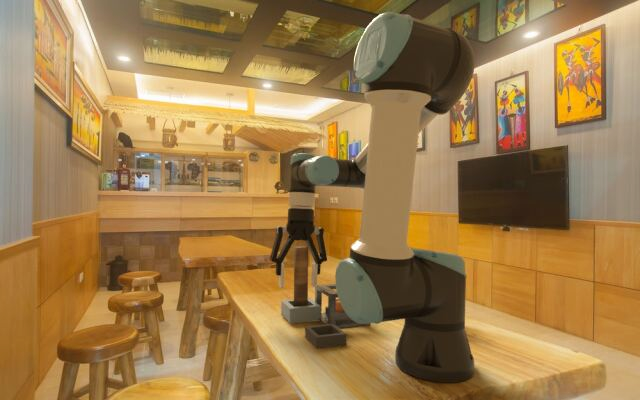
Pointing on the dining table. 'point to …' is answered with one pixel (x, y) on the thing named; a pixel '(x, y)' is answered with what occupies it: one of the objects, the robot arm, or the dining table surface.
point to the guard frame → (333, 308)
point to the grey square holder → (300, 311)
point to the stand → (325, 336)
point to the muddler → (300, 276)
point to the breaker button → (339, 306)
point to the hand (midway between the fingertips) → (297, 286)
